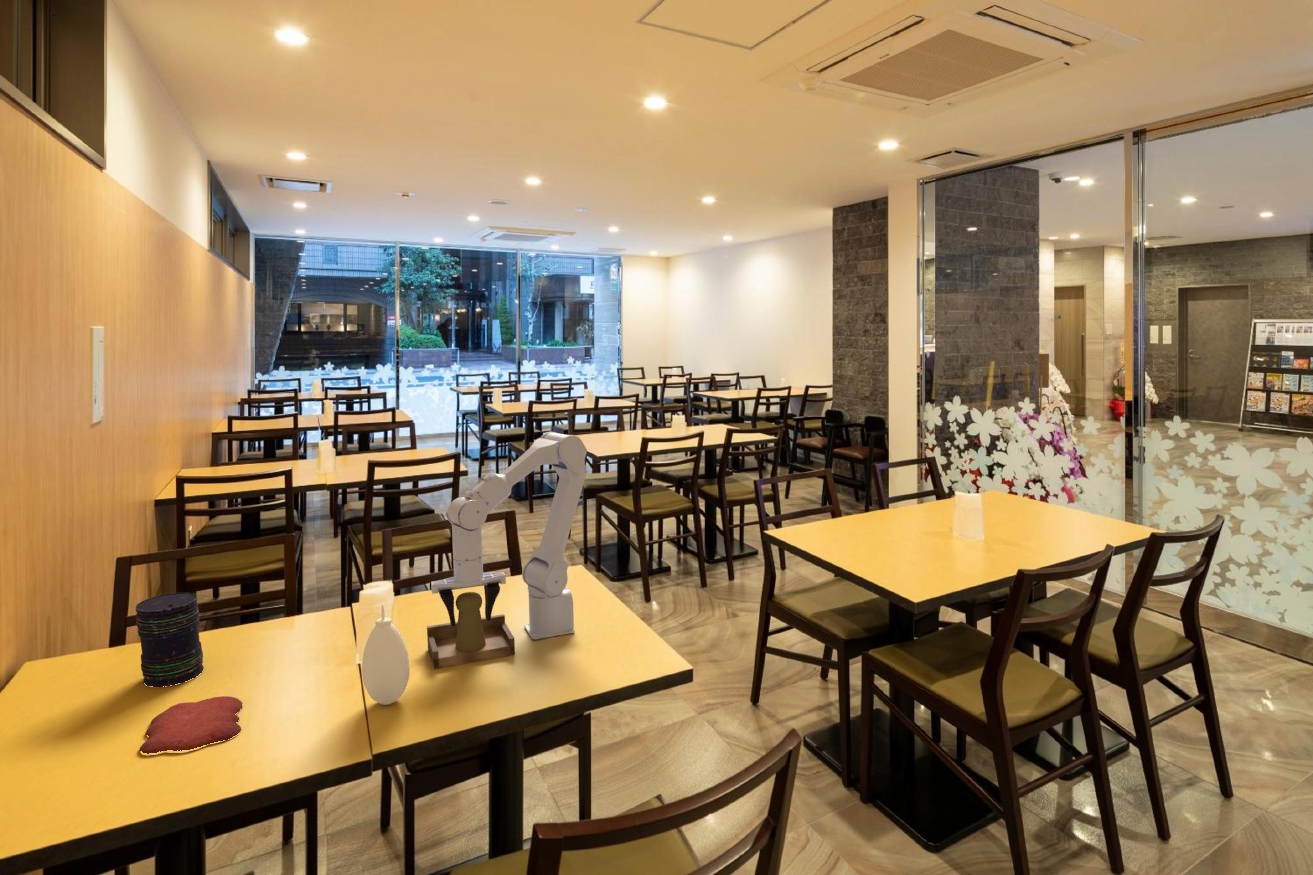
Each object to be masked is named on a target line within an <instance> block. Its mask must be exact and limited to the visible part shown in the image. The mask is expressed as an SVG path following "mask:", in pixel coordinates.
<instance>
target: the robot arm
mask: <svg viewBox="0 0 1313 875" xmlns="http://www.w3.org/2000/svg"><path fill="white" fill-rule="evenodd" d="M587 452H588V449H587V447H586V446H585V444H584V442H583V441H582V439H581V438H580V437H579V436H577V435H573V434H564V433H559V432H555V431H547V432H545V433H544V434H542V435H541V436H540V437H538V438H536V439H535V440H534V442H533V443H532V444H531V446H530V447H529V448H528V449H527V450H525V452H523V453H522V454H521V456H519V457H518V458H517V459H516V460H515V461H514V462H512V464H510V466H508V467H507V468H506V469H505V470H504V471H502V473H491V474H486V475H485V476H483V477H482V479H483V480H482V481H481V482H480V483H479V484H478V485H477V486H475V487H474V488H473V489H471V490H467V491H466V492H465V493H464V497H463V496H462V497H461V496H460V497H457V498H455V499H453V500H452V502H450V503H449V506H448V508H447V511H446V512H445V517H446V519H447V521H448V522H449V523H450V524H451V533H452V534H451V538H452V557H453V558H452V559H453V576H451V577H447V578H444V579H439V580H435V581H434V580H433V581H430V585H431V586H430V589H431V593H432V594H433V595H436V594H439V597H440V599H441V600H442V602H443V604H444V606H445V608H446V610H447V613H448V617H449V623H450V624H451V626H455V622H456V617H455V616H456V615H455V608H454V607H455V597H454V591H455V590H462V589H469V588H470V589H471V588H477V587H482V586H483V589H484V590H483V591H484V615H485V616H484V617H486V619H487V621H489V620H491V616H492V614H493V613H492V612H493V609H494V605H495V602H496V600H497V598H498V596H499V595H500V591H501V586H500V585H505V584H506V583H507V582H506V581H507V578H506V573H505V572H504V571H501V572H500V571H499V572H486V573H485V572H484V563H483V541H482V540H483V538H482V536H483V535H482V526H483V525H484V524H485V523H486V520H487V516H488V514H490V512H492V511H493V510H494V509H496V507H497V506H499V505H500V504H501V503H502V502H504V501H505V500H506V499H507V498H509V497H510V496H511V494H512V488H513V486H515V485H516V484H517V483H518V482H520V481H521V480H522V479H524V478H526V477H527V476H528V475H529V474H531V473H532V472H534V470H536V469H537V468H539V467H540V466H542V465H544V466H545V465H551V466H552V468H553V469H554V471H555V472H556V474H557V476H558V478H559V479H558V482H557V485H556V489H555V492H554V495H553V499H552V502H551V506H550V509H549V513H548V516H547V519H546V524H545V525H544V526H545V527H544V530H543V533H542V537H541V540H540V545H539V546H537V547H536V548H535V549H534V550H532V551H531V553H530V557H529V559H528V560H527V562H526V563H525V564H524V565H523V568H522V572H521V577H522V580H523V582H524V583H525V584H526V585H527V590H528V591H527V592H528V615H529V616H528V622H529V623H528V624H524V629H525V630H526V631H527V634H528V635H529V636H530V638H531V639H532V640H534V641H535V640H540V639H547V638H551V637H557V636H563V635H567V634H574V633H575V632H576V631H575V630H576V629H575V620H574V617H575V614H574V599H573V595H572V591H571V590H570V589H569V588H566V586H567V584H568V580H569V579H568V567H569V565H570V564H569V561H568V558H567V557H566V555H565V549H566V547H567V543H568V540H569V536H570V532H571V530H572V525H573V521H574V519H575V515H576V511H577V507H578V505H579V501H580V498H581V494H582V490H583V486H584V483H585V479H586V476H587V474H586V471H587V470H586V462H585V461H586V460H585V459H586V456H587Z"/></svg>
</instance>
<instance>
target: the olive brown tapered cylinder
mask: <svg viewBox="0 0 1313 875" xmlns="http://www.w3.org/2000/svg"><path fill="white" fill-rule="evenodd" d="M482 605H483V598H482V596H481V594H480V593H478V592H476V591H466V592H462V593H460V594H459V595H457V597H456V599H455V607H456V609H457V611H458V615H457V616H458V618H457V622H458V625H457V636H456V646H455V648H456V649H457V650H458V651H461V652H472V651H477V650H480V649H482V648H484V647H485V645H486V642H485V636H484V630H483V625H482V619H481V618H482V614H481V611H480V610H481V608H482Z"/></svg>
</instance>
